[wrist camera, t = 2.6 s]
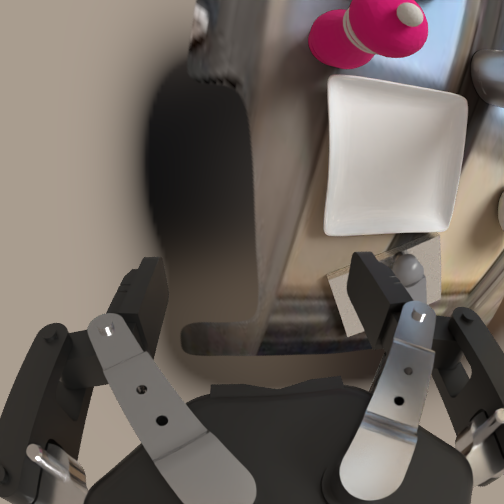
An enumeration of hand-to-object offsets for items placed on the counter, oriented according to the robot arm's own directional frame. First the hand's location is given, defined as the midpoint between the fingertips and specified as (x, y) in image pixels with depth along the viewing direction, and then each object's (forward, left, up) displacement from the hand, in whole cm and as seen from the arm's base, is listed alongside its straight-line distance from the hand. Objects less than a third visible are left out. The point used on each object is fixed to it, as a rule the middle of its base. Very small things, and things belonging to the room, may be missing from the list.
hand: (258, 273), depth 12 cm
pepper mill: (-14, -9, -27) cm, 32 cm away
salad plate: (-17, +8, -27) cm, 33 cm away
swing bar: (-14, +30, -23) cm, 40 cm away
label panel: (-12, +30, -27) cm, 42 cm away
